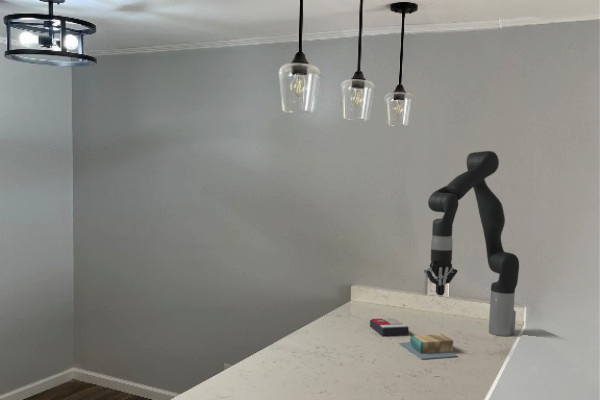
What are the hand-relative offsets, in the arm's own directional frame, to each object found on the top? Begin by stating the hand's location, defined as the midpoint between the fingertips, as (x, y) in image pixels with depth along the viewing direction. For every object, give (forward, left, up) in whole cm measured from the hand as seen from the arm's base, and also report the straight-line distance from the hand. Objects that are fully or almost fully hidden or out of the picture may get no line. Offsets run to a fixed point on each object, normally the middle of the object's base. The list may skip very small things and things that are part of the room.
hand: (439, 295), depth 218 cm
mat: (+4, 0, -20) cm, 21 cm away
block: (-4, 0, -18) cm, 18 cm away
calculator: (+7, -26, -21) cm, 34 cm away
